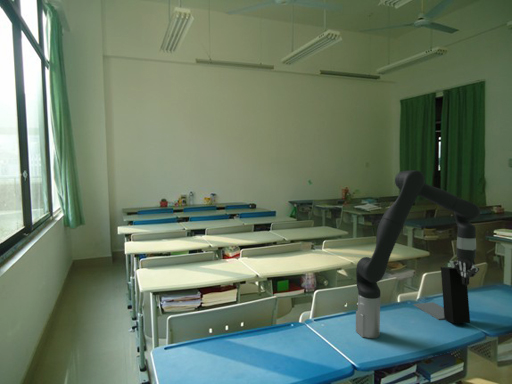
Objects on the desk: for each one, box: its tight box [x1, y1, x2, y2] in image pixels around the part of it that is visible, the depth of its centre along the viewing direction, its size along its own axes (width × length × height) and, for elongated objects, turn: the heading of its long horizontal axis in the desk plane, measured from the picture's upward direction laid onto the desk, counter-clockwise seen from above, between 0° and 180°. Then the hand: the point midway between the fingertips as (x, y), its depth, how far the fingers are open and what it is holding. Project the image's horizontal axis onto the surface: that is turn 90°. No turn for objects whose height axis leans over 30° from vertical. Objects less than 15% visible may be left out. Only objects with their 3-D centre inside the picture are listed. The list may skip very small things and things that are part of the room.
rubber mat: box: [413, 301, 445, 321], centre depth 175 cm, size 12×18×1 cm, turn 12°
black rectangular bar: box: [440, 260, 471, 324], centre depth 163 cm, size 8×8×28 cm
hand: (465, 284), depth 156 cm, fingers closed
